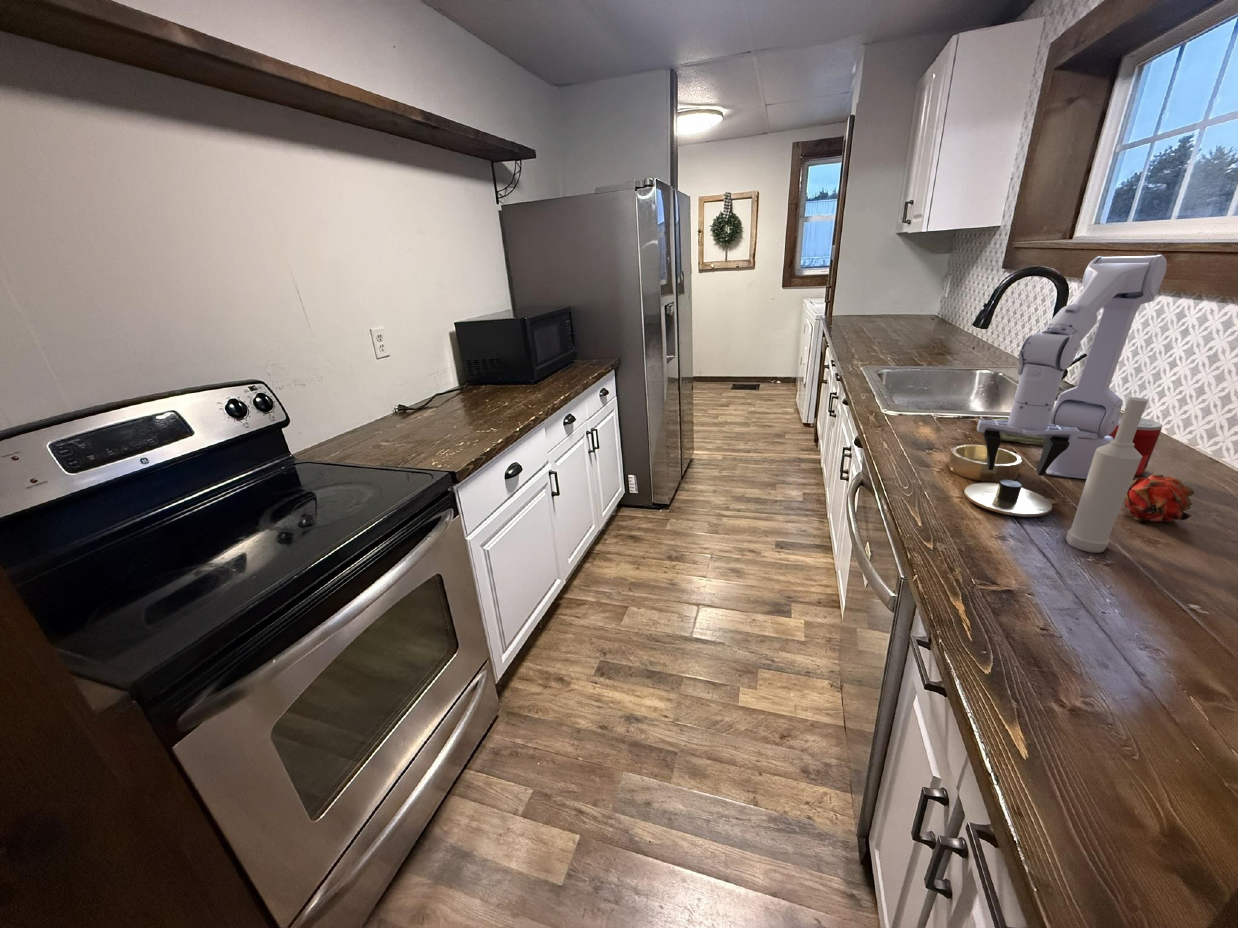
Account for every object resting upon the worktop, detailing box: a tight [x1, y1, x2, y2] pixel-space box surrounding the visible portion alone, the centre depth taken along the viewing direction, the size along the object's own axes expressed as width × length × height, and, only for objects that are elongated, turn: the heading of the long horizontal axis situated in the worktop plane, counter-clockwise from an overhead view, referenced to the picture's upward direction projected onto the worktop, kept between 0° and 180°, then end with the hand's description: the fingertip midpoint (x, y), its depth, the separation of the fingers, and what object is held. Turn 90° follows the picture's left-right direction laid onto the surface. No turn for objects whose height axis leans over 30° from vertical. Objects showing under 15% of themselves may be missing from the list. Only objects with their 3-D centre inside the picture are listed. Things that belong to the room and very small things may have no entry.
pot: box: [948, 444, 1023, 483], centre depth 110 cm, size 13×13×4 cm
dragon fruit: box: [1124, 473, 1195, 523], centre depth 88 cm, size 8×8×12 cm
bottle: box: [1065, 396, 1149, 554], centre depth 78 cm, size 5×5×25 cm
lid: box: [963, 480, 1053, 518], centre depth 96 cm, size 14×14×4 cm
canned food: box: [1107, 416, 1163, 477], centre depth 106 cm, size 8×8×11 cm
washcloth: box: [992, 418, 1050, 446], centre depth 128 cm, size 13×18×3 cm
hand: (1014, 470), depth 95 cm, fingers open, 7 cm apart
